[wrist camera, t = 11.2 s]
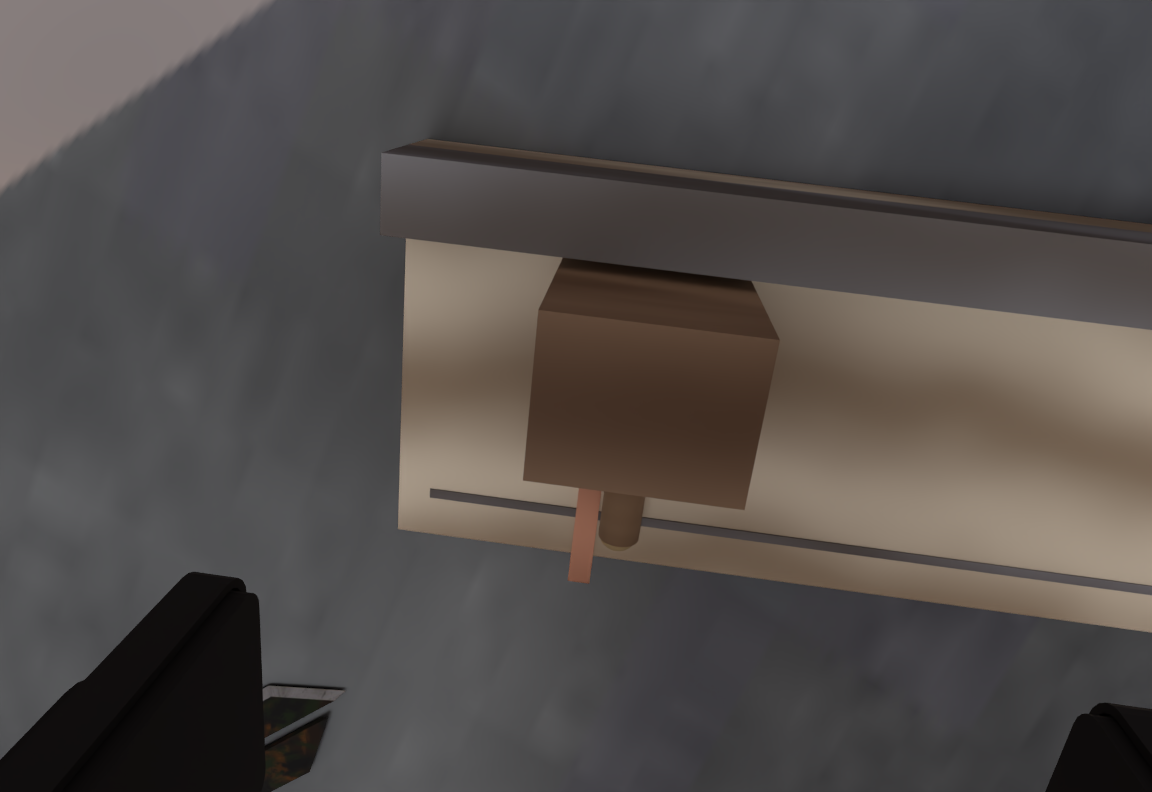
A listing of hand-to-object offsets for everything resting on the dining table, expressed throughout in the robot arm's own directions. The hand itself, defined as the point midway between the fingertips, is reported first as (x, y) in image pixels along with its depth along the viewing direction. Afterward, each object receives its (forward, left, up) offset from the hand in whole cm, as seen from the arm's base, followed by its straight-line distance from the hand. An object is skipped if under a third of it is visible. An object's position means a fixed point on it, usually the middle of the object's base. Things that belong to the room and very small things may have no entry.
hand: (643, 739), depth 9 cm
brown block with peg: (-2, 0, -15) cm, 15 cm away
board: (-1, -7, -17) cm, 19 cm away
